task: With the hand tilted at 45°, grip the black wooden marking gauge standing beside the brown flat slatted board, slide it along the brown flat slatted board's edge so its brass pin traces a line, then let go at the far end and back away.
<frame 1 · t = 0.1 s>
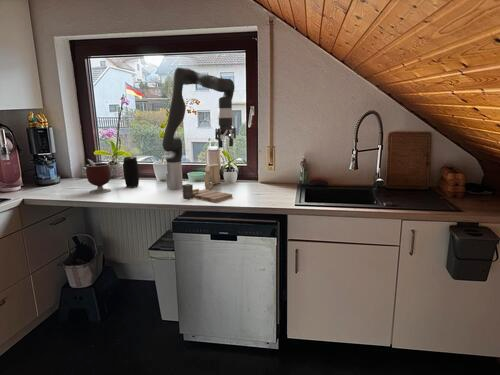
hand: (225, 146, 197), 29 cm above the countertop, tool pointing down, fingers open, 8 cm apart
mate gourd: (99, 191, 224), on the countertop
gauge: (188, 198, 204), on the countertop
portable speaker: (132, 186, 237), on the countertop
brown flat slatted board: (209, 197, 206), on the countertop
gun: (212, 186, 237), on the countertop
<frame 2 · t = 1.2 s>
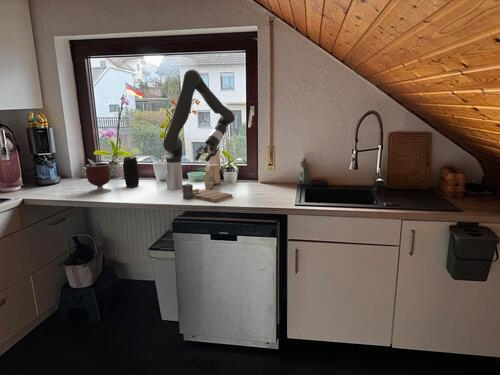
hand: (201, 160, 208), 21 cm above the countertop, tool tilted 45°, fingers open, 8 cm apart
nothing on the countertop moved.
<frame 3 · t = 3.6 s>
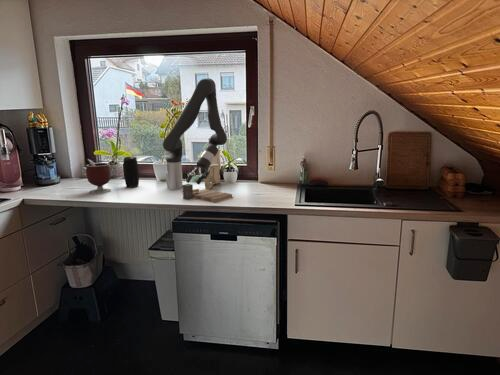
hand: (192, 182, 204), 9 cm above the countertop, tool tilted 45°, fingers open, 8 cm apart
nothing on the countertop moved.
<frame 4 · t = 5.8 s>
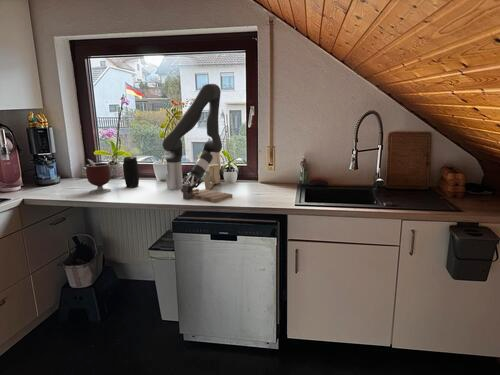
hand: (185, 192, 201), 4 cm above the countertop, tool tilted 45°, fingers closed on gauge, 4 cm apart
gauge: (188, 198, 204), on the countertop, touching gripper
everything else where it was.
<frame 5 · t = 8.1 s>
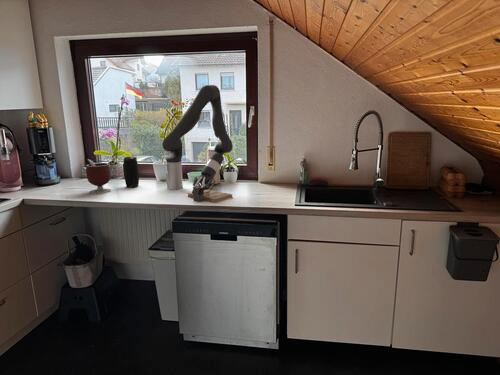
hand: (195, 194, 196), 4 cm above the countertop, tool tilted 45°, fingers closed on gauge, 4 cm apart
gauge: (198, 200, 198), on the countertop, touching gripper
everything else where it was.
when the fingers open (4 cm above the countertop, at t = 10.9 s): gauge stays where it is, on the countertop.
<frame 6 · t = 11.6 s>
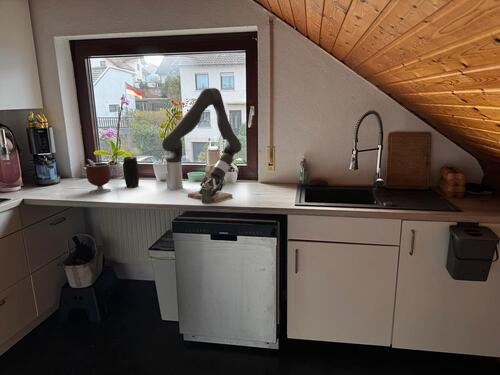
hand: (206, 194, 192), 5 cm above the countertop, tool tilted 45°, fingers open, 8 cm apart
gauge: (207, 202, 194), on the countertop
everything else where it was.
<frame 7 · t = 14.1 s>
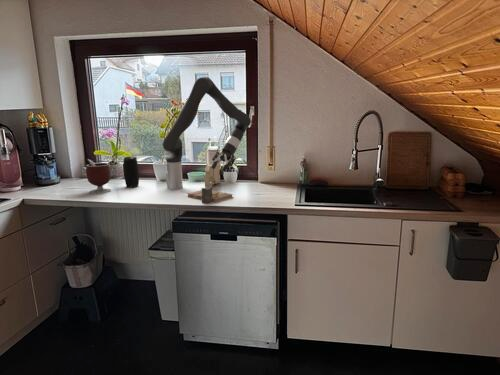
hand: (218, 169, 202), 16 cm above the countertop, tool tilted 40°, fingers open, 8 cm apart
nothing on the countertop moved.
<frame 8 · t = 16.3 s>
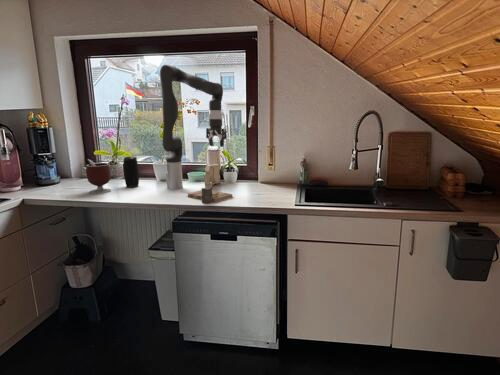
hand: (216, 146, 212), 28 cm above the countertop, tool pointing down, fingers open, 8 cm apart
nothing on the countertop moved.
at the end: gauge inside the target area (0.1 cm from its centre), on the countertop; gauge tilted 0°; the gripper is holding nothing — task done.
